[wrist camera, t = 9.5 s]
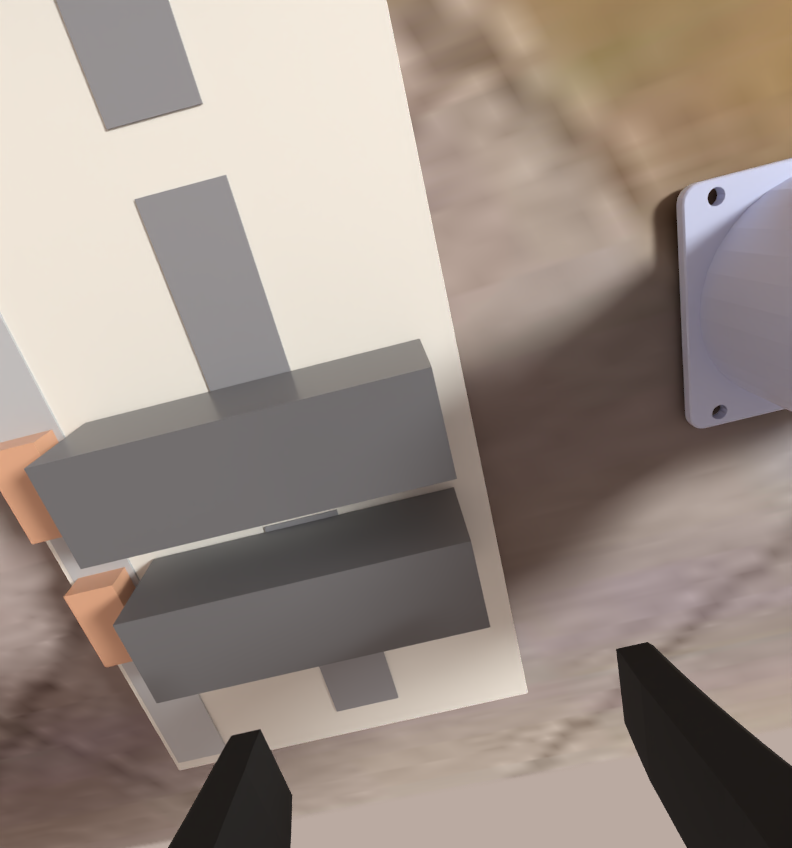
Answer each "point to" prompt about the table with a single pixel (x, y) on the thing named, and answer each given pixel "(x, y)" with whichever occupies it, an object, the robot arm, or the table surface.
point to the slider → (304, 597)
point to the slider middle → (247, 455)
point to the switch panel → (223, 292)
